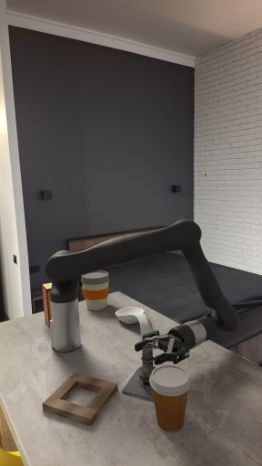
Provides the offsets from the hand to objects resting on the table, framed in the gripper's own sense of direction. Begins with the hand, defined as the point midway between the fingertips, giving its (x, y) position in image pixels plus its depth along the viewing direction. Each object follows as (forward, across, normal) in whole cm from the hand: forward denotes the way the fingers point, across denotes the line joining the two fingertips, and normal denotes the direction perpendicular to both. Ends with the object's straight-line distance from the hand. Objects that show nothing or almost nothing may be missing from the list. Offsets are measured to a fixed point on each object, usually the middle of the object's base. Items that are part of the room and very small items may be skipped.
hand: (144, 354), depth 87 cm
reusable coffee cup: (-18, -58, +10) cm, 62 cm away
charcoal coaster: (-1, 0, +10) cm, 10 cm away
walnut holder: (+16, -6, +10) cm, 20 cm away
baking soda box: (+2, -55, +10) cm, 56 cm away
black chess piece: (-1, 0, +9) cm, 9 cm away
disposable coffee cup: (+3, +14, +10) cm, 17 cm away
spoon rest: (-20, -31, +10) cm, 39 cm away
